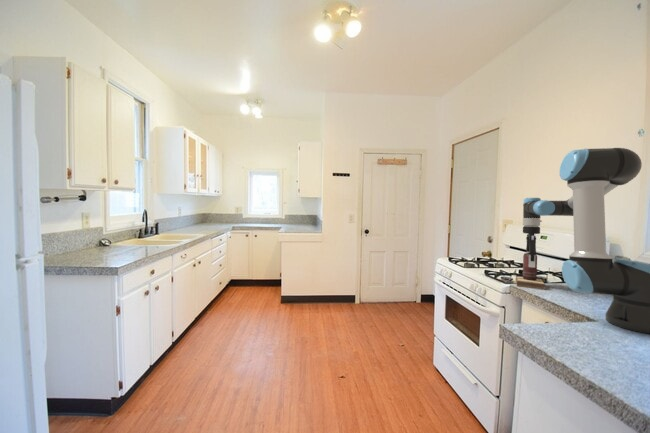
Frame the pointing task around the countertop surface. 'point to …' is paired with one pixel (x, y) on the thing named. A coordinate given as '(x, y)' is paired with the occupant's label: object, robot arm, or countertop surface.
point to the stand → (530, 283)
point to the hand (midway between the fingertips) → (530, 265)
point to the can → (529, 268)
